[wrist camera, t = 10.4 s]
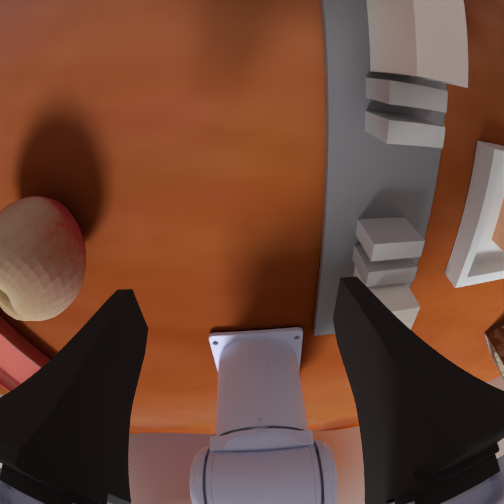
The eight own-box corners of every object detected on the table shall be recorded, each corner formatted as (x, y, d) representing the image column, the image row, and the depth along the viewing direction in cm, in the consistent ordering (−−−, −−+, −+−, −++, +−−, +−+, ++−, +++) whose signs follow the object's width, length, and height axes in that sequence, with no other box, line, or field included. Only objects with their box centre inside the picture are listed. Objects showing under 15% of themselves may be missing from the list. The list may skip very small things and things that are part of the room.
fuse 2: (379, 308, 23) (399, 354, 19) (346, 313, 23) (362, 361, 19) (391, 260, 20) (420, 306, 16) (355, 263, 20) (378, 313, 16)
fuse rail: (394, 319, 25) (408, 348, 22) (312, 330, 25) (320, 363, 22) (434, -17, 9) (467, -25, 6) (315, -44, 9) (332, -67, 6)
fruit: (6, 199, 17) (-56, 257, 10) (75, 163, 16) (0, 224, 9) (49, 278, 21) (8, 347, 15) (120, 261, 20) (81, 346, 14)
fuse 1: (415, 78, 13) (467, 88, 9) (370, 71, 13) (416, 75, 9) (411, 3, 10) (462, -8, 6) (365, -7, 10) (408, -28, 6)
